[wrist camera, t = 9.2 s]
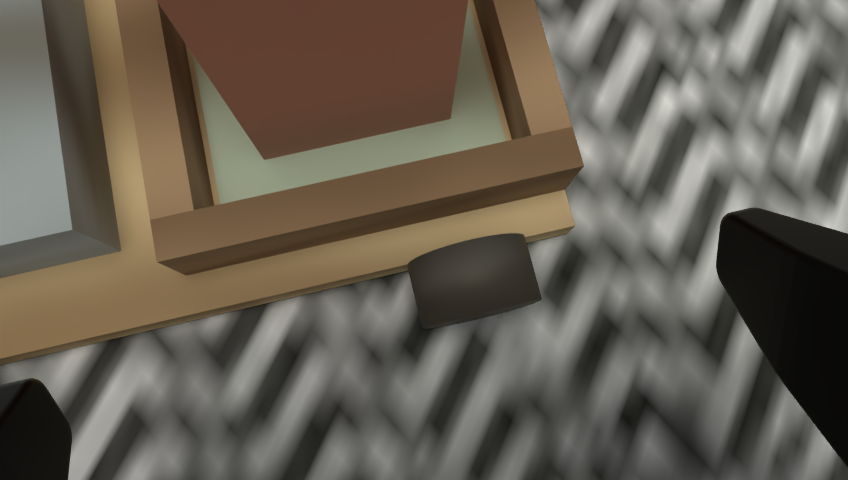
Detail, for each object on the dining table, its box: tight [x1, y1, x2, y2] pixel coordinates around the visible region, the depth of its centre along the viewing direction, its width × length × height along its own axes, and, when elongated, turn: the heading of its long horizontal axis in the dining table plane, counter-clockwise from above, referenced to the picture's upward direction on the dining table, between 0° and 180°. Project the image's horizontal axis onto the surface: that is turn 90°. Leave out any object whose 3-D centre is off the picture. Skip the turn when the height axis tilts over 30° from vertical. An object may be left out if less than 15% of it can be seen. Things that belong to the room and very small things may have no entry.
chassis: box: [0, 0, 584, 365], centre depth 17 cm, size 15×20×4 cm
